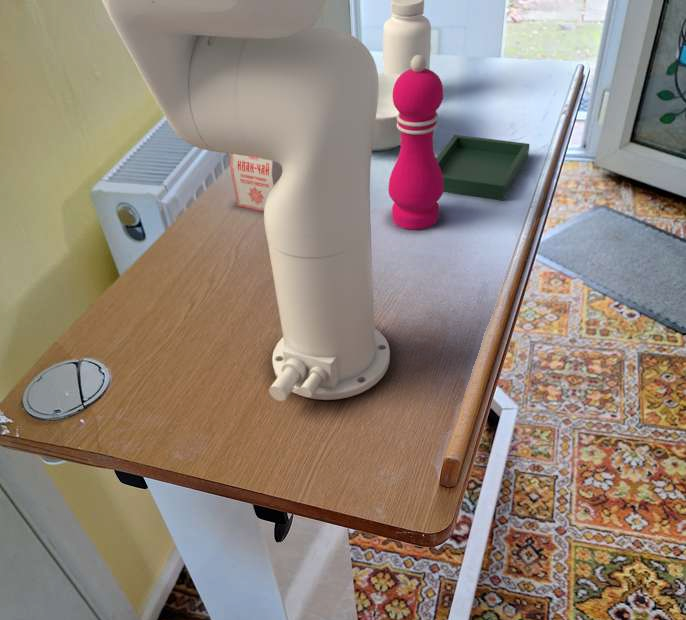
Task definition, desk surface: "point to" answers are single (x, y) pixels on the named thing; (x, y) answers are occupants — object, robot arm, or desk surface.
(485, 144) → the tray
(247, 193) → the printed tea carton
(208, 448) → the desk surface
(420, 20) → the pill bottle
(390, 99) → the cereal bowl
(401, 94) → the pepper mill
